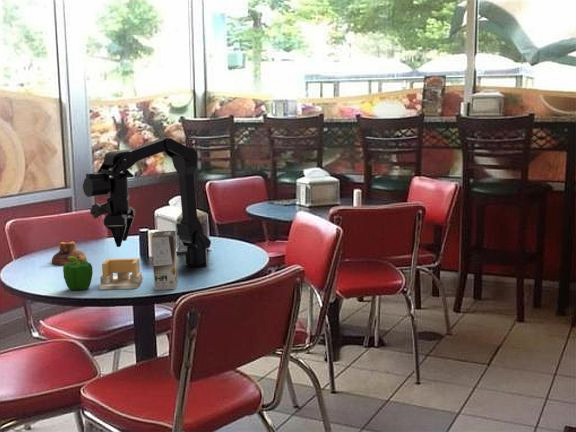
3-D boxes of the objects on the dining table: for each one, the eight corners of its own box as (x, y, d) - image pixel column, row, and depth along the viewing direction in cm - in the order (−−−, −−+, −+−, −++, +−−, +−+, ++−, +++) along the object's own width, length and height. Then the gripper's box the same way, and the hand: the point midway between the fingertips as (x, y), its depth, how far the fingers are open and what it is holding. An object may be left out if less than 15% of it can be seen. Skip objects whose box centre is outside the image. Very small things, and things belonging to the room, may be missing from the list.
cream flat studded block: (144, 278, 223) (143, 268, 222) (137, 288, 211) (137, 278, 210) (107, 279, 222) (107, 269, 222) (99, 289, 210) (98, 279, 210)
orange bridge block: (139, 270, 220) (139, 258, 219) (136, 276, 213) (135, 263, 212) (107, 271, 219) (106, 259, 219) (102, 277, 213) (101, 264, 212)
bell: (44, 265, 244) (43, 244, 242) (63, 257, 255) (61, 237, 254) (75, 266, 241) (73, 245, 240) (92, 258, 252) (91, 238, 251)
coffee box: (176, 289, 209) (173, 236, 206) (154, 290, 208) (151, 236, 205) (178, 281, 218) (175, 230, 215) (157, 282, 217) (154, 230, 214)
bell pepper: (96, 284, 216) (94, 252, 215) (89, 291, 208) (87, 258, 206) (69, 285, 216) (66, 253, 214) (61, 292, 208) (58, 259, 206)
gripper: (98, 189, 223) (101, 238, 226) (84, 198, 205) (87, 251, 208) (134, 189, 224) (136, 237, 226) (123, 197, 205) (126, 249, 208)
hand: (121, 243), depth 217 cm, fingers open, 9 cm apart
